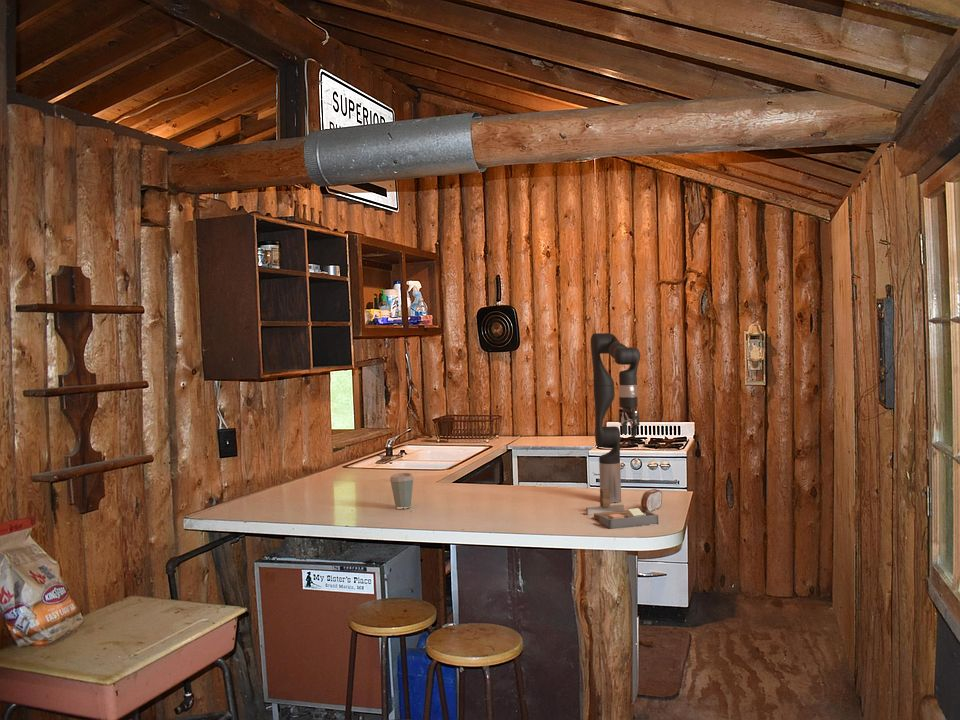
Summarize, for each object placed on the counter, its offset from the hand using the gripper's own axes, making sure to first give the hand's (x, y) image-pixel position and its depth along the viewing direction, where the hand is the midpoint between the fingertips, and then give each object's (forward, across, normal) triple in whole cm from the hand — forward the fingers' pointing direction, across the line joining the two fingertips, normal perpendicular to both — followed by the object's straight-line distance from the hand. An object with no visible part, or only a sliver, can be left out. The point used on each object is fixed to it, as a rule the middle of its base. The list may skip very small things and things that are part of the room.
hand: (629, 435), depth 317 cm
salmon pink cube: (+32, +17, -14) cm, 39 cm away
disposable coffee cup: (+32, -47, -88) cm, 105 cm away
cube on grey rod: (+32, -3, -10) cm, 34 cm away
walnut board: (+32, +9, -10) cm, 35 cm away
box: (+32, +18, -10) cm, 38 cm away
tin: (+32, -1, +10) cm, 34 cm away
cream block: (+31, +16, -6) cm, 35 cm away
